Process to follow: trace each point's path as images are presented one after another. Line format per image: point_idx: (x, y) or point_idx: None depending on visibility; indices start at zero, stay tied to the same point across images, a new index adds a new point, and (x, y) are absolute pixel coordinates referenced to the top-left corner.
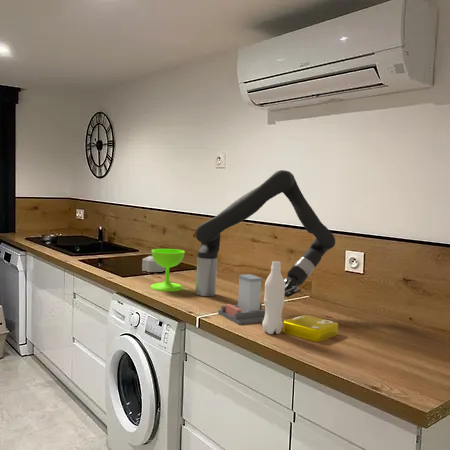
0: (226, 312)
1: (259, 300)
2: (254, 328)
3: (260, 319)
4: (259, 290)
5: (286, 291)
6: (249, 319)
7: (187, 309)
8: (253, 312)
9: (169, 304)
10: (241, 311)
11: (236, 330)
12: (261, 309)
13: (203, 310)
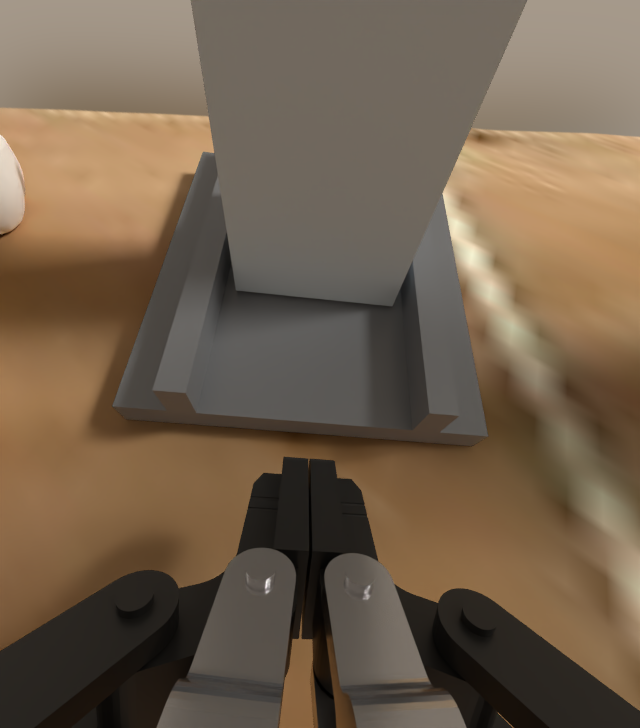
0: None
1: (222, 185)
2: (104, 191)
3: (168, 260)
4: (203, 49)
5: (76, 640)
6: (187, 195)
7: (529, 147)
8: (209, 206)
9: (619, 137)
10: None
11: (139, 128)
12: (377, 409)
13: (504, 182)
